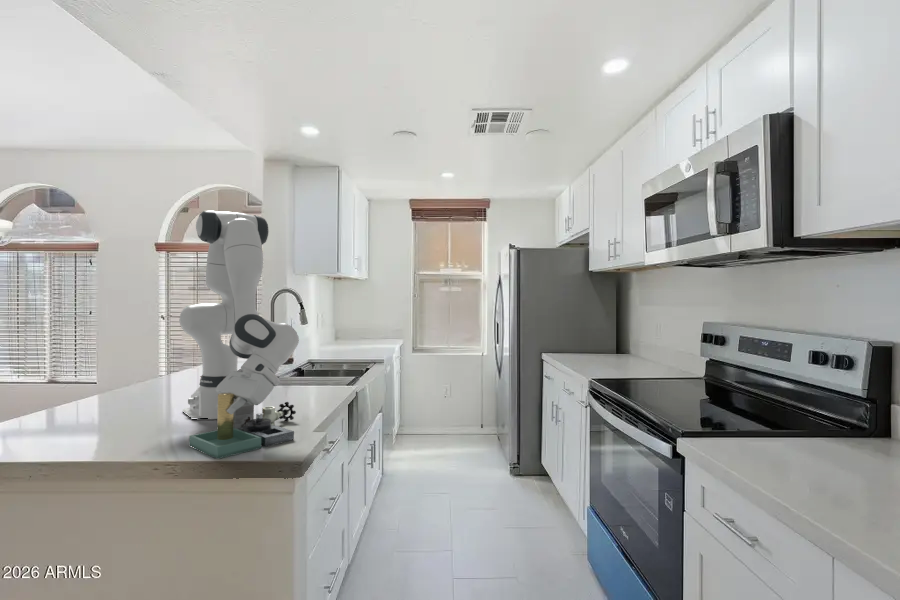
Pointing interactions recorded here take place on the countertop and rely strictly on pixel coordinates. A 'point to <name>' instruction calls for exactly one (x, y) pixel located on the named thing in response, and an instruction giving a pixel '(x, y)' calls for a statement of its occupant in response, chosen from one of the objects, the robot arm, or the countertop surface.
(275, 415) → the valve
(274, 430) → the block
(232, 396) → the pin
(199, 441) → the tray
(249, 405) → the coffee box
